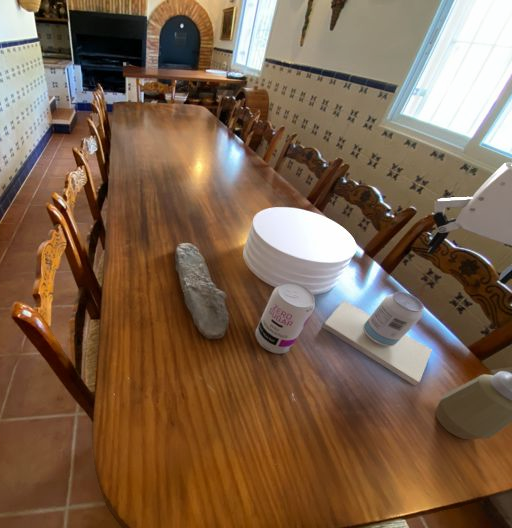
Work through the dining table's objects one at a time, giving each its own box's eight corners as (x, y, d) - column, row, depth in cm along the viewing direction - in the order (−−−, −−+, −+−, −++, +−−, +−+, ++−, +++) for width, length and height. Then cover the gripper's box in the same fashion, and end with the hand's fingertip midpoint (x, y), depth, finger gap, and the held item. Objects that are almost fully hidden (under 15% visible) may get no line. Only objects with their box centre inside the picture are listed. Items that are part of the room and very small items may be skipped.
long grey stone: (198, 251, 94) (168, 254, 93) (200, 237, 91) (168, 240, 90) (238, 339, 67) (195, 344, 65) (242, 323, 64) (197, 328, 62)
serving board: (428, 353, 68) (432, 349, 67) (415, 386, 62) (419, 382, 61) (340, 303, 79) (343, 299, 78) (321, 326, 72) (324, 322, 71)
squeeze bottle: (439, 439, 54) (524, 389, 42) (420, 396, 60) (490, 343, 48) (489, 452, 52) (591, 405, 41) (465, 407, 59) (547, 356, 47)
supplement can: (290, 331, 70) (315, 285, 61) (291, 360, 64) (319, 314, 55) (255, 321, 72) (275, 275, 62) (253, 348, 66) (274, 302, 56)
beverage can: (400, 342, 68) (434, 307, 61) (383, 353, 65) (417, 318, 58) (371, 320, 73) (400, 285, 65) (354, 330, 70) (382, 295, 62)
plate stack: (320, 241, 102) (335, 212, 94) (352, 300, 80) (375, 268, 73) (238, 232, 102) (247, 202, 95) (249, 288, 81) (261, 255, 74)
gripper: (655, 180, 37) (535, 282, 47) (478, 141, 46) (412, 234, 57) (669, 196, 32) (534, 304, 43) (471, 150, 42) (401, 248, 52)
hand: (464, 264), depth 50 cm, fingers open, 9 cm apart
